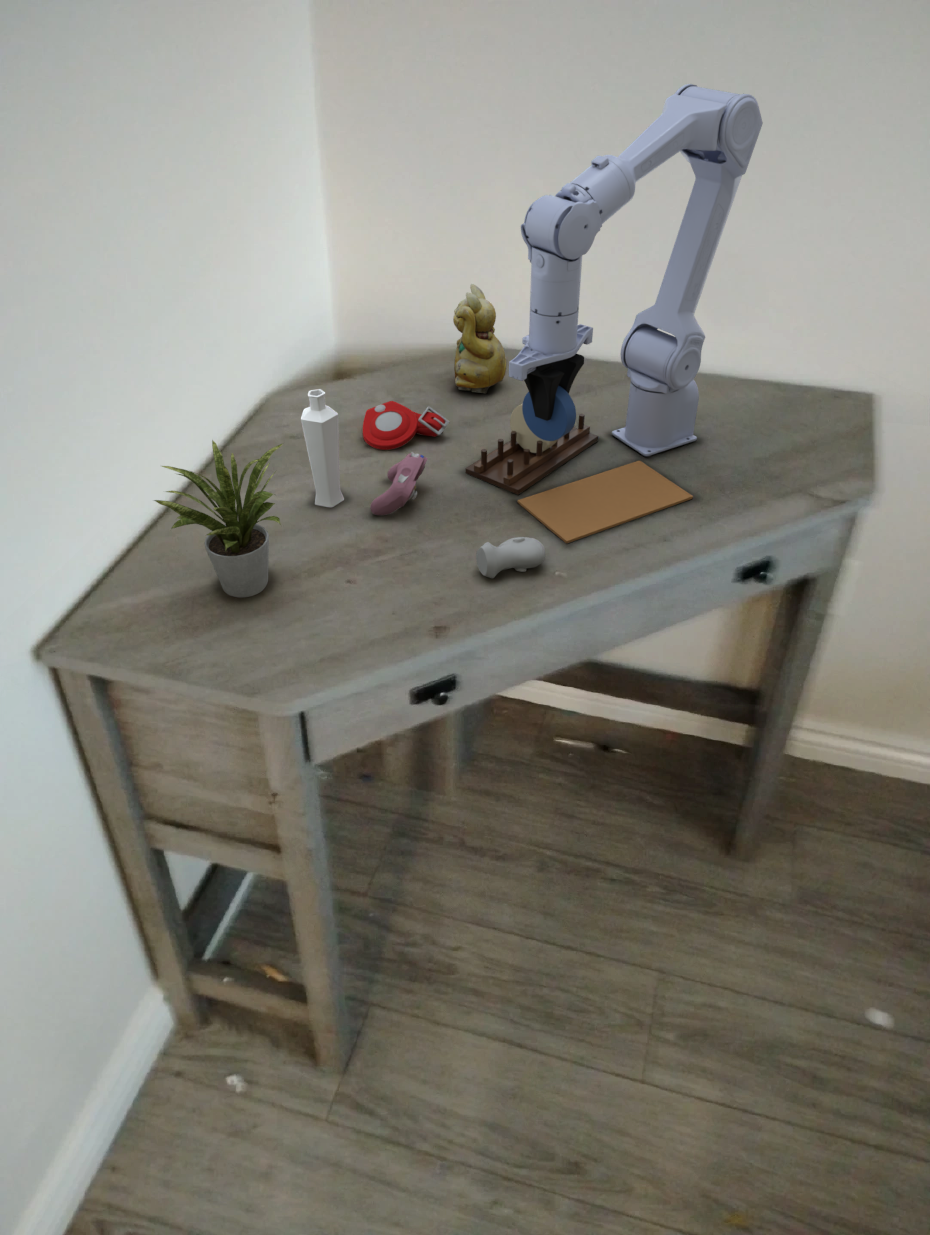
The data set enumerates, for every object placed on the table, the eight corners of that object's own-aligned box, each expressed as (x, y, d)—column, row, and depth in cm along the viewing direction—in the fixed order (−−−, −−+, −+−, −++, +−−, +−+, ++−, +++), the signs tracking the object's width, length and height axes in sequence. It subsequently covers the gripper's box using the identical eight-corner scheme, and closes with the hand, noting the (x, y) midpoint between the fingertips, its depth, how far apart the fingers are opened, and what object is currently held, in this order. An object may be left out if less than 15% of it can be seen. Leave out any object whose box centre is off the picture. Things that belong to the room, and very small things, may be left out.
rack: (546, 422, 138) (548, 398, 135) (598, 440, 133) (600, 416, 131) (465, 473, 127) (464, 448, 124) (518, 495, 122) (518, 469, 120)
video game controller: (398, 530, 119) (420, 490, 114) (365, 513, 118) (386, 472, 113) (416, 490, 126) (437, 451, 122) (386, 474, 125) (406, 434, 121)
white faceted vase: (352, 493, 123) (341, 387, 113) (338, 510, 120) (326, 402, 110) (320, 487, 124) (307, 382, 114) (306, 504, 121) (291, 397, 111)
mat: (639, 462, 128) (639, 460, 128) (692, 498, 121) (693, 496, 121) (517, 502, 121) (517, 500, 120) (566, 543, 113) (566, 541, 113)
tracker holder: (371, 450, 129) (348, 405, 135) (378, 471, 133) (355, 427, 138) (451, 418, 131) (425, 375, 136) (455, 440, 134) (430, 397, 140)
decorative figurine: (457, 370, 152) (456, 278, 142) (508, 372, 151) (509, 279, 142) (450, 396, 144) (448, 300, 135) (503, 398, 144) (505, 302, 134)
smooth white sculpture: (536, 561, 112) (550, 573, 108) (472, 570, 111) (484, 583, 106) (534, 526, 111) (549, 537, 106) (469, 535, 109) (481, 547, 104)
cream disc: (517, 438, 132) (519, 392, 127) (558, 454, 128) (561, 407, 124) (509, 444, 130) (510, 398, 126) (550, 459, 127) (552, 412, 122)
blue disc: (530, 426, 122) (532, 376, 117) (574, 442, 118) (578, 391, 114) (521, 431, 121) (522, 381, 116) (565, 448, 117) (568, 397, 113)
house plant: (250, 530, 116) (228, 410, 106) (334, 566, 110) (320, 442, 100) (161, 587, 107) (128, 462, 97) (248, 630, 101) (222, 501, 91)
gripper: (562, 283, 115) (556, 385, 124) (488, 318, 107) (488, 425, 115) (610, 296, 112) (601, 400, 120) (538, 333, 103) (533, 442, 112)
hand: (549, 414), depth 117 cm, fingers closed on blue disc, 2 cm apart
